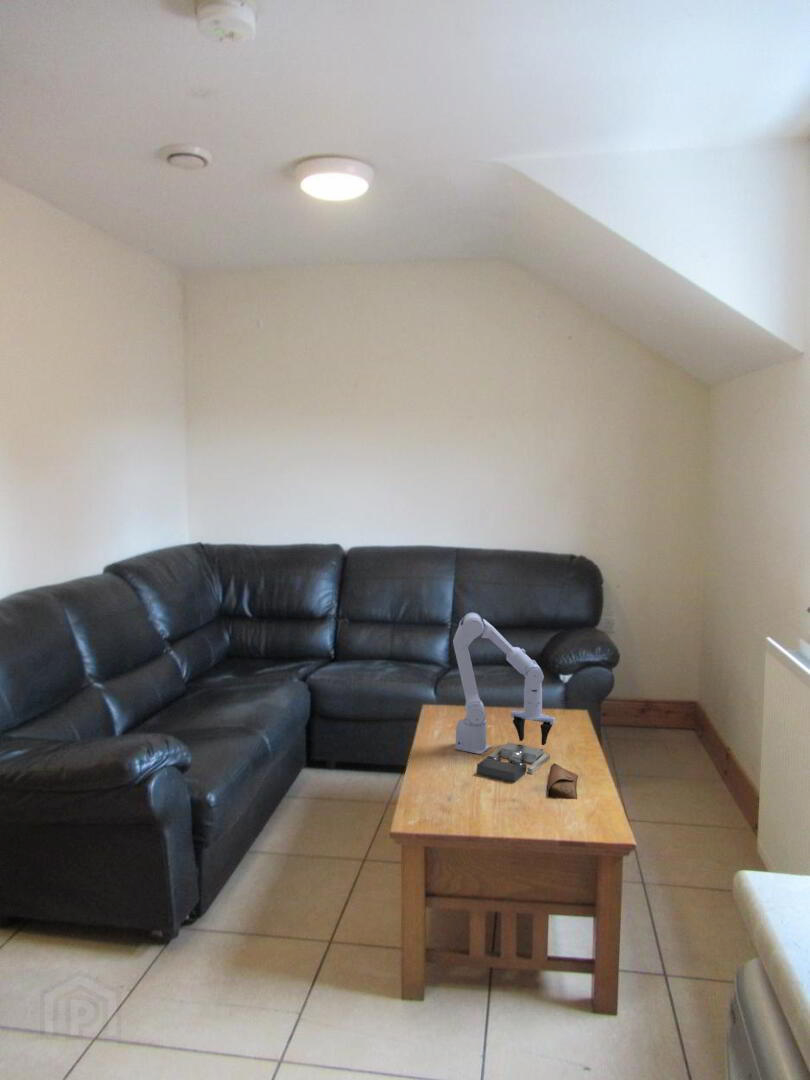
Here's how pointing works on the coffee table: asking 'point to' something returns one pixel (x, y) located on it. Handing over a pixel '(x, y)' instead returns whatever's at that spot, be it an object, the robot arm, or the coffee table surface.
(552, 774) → the sunglasses case
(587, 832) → the coffee table surface
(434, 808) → the coffee table surface
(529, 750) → the grey piece
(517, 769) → the fixed leaf
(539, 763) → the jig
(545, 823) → the coffee table surface
